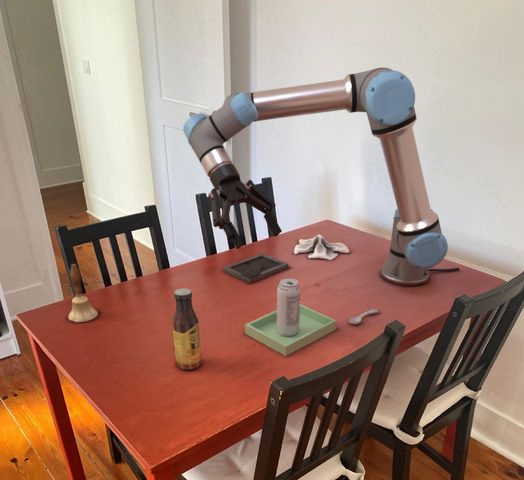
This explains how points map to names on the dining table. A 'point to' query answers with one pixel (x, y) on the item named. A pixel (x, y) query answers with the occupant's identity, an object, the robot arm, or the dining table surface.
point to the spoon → (358, 319)
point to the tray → (309, 331)
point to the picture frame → (255, 268)
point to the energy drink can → (288, 307)
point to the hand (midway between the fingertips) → (259, 240)
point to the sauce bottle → (186, 331)
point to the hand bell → (80, 300)
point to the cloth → (320, 248)
